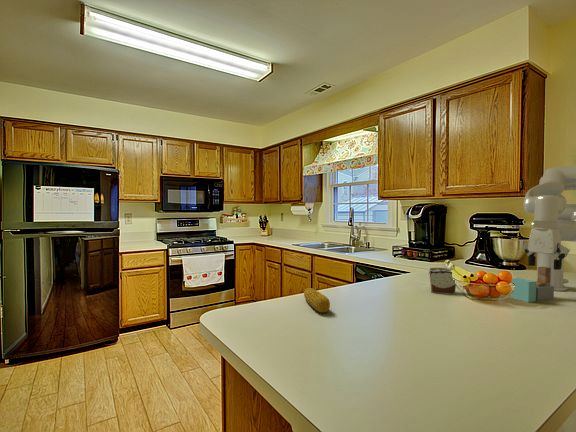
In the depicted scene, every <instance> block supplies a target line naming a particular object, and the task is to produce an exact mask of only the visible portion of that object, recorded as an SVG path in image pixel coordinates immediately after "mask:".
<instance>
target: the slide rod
mask: <svg viewBox="0 0 576 432" xmlns="http://www.w3.org/2000/svg"><path fill="white" fill-rule="evenodd" d="M550 279H551V268H548V267H538V279H537V278H536V287H542V286H550Z"/></svg>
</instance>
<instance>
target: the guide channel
mask: <svg viewBox="0 0 576 432" xmlns="http://www.w3.org/2000/svg"><path fill="white" fill-rule="evenodd" d="M554 294H555V290H554V286H542V287H536V301H537V302H538V301H548V300H549V301H550V300H555V299H554V298H555V295H554Z"/></svg>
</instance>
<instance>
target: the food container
mask: <svg viewBox="0 0 576 432" xmlns="http://www.w3.org/2000/svg"><path fill="white" fill-rule="evenodd" d="M428 269H429V270H428V271H427V272H428V273H427V274H428V275H429V280H430V281H429V282H430V290H431V291H430V292H431V294H444V295H445V294H448V295H450V294H451V295H452V294H453V295H455V293H456V288H457V287H456V286H457V283H456V284H455V280H453V278H452V272H451V269H452V268H447V267H429V268H428Z"/></svg>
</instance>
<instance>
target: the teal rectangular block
mask: <svg viewBox="0 0 576 432" xmlns="http://www.w3.org/2000/svg"><path fill="white" fill-rule="evenodd" d="M536 281H537V280H536ZM536 281H535V280H530V279H525V278H521V277H513V278H512V283H514V284H515V287H514V291H513V293H512V295H511V294H510V298H511V299H515V300H517V301H522V302H525V303H535V302H536V301H537V300H536Z"/></svg>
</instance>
